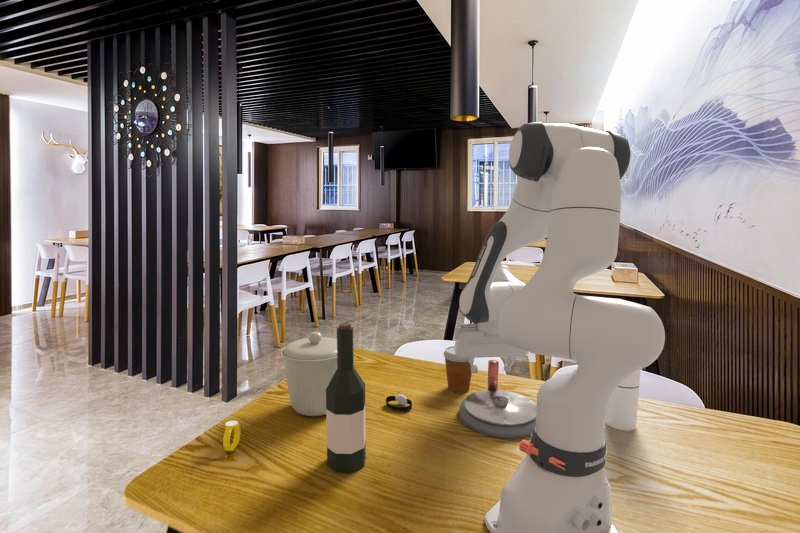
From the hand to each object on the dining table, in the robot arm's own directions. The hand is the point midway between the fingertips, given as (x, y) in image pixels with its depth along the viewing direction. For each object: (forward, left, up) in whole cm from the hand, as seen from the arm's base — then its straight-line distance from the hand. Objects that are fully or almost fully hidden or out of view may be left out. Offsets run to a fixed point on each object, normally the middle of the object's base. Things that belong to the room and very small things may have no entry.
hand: (490, 371), depth 118 cm
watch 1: (-64, +19, -9) cm, 68 cm away
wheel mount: (-4, -7, -9) cm, 12 cm away
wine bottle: (-46, -1, -9) cm, 47 cm away
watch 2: (-22, +13, -10) cm, 27 cm away
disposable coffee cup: (0, +12, -9) cm, 15 cm away
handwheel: (-4, -7, -7) cm, 11 cm away
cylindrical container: (+18, -27, -9) cm, 34 cm away
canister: (-40, +26, -9) cm, 49 cm away
